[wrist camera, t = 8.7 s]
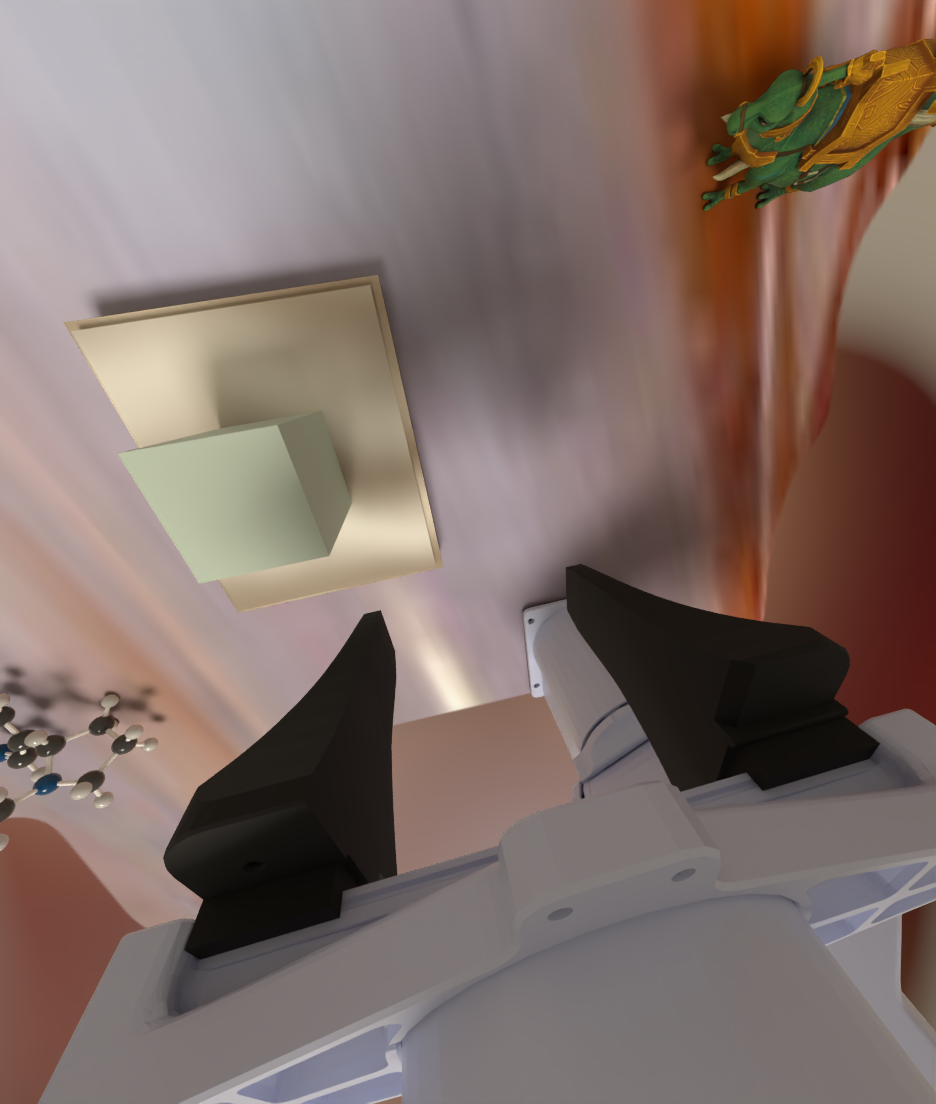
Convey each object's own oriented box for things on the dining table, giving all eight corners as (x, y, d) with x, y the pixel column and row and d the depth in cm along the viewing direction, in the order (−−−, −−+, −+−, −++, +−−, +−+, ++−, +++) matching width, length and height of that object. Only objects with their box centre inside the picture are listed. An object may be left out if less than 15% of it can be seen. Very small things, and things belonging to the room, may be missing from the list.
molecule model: (-20, 639, 22) (-238, 779, 16) (141, 693, 21) (-29, 864, 15) (50, 683, 26) (-102, 806, 20) (186, 730, 25) (67, 874, 19)
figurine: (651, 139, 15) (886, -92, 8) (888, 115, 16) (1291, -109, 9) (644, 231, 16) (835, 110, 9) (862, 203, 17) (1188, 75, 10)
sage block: (352, 502, 17) (329, 555, 12) (263, 520, 17) (199, 583, 11) (321, 410, 15) (277, 425, 10) (220, 428, 15) (117, 453, 9)
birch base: (440, 552, 22) (444, 571, 20) (252, 593, 21) (234, 618, 19) (381, 287, 15) (377, 270, 13) (105, 329, 15) (51, 320, 12)
